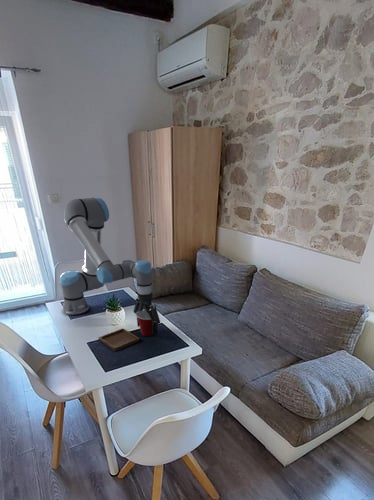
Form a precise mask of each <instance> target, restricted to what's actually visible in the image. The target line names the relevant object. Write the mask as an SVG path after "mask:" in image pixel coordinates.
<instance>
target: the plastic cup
mask: <svg viewBox="0 0 374 500" xmlns="http://www.w3.org/2000/svg"><path fill="white" fill-rule="evenodd" d="M135 316H136V319H137V318H138V322H139V330H140V333H141V335H142V336H143V337H150V336H153V331H152V324H153V322H152V320H151V318H150V316H149V314H148V313H147V311H146V310H144V309H143V310H142V311H138V312H137V313H135Z"/></svg>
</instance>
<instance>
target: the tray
mask: <svg viewBox="0 0 374 500" xmlns="http://www.w3.org/2000/svg"><path fill="white" fill-rule="evenodd" d="M98 341H99V342H101V343H102V344H104V345H105V346H107V347H109V349H111V350H112V351H113V352H116V351H120V350H121V349H124V348H126V347H129V346H131V345H134V344H136V343H139V342H140V337H138V336H137V335H135V334H133V333H132V332H130V331H129V330H126V329H125V328H120V329H117V330H114V331H112V332H109V333H107V334H104V335H101V336H98Z"/></svg>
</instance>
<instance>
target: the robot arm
mask: <svg viewBox="0 0 374 500" xmlns="http://www.w3.org/2000/svg"><path fill="white" fill-rule="evenodd" d="M63 210H64V211H63V220H64V223H65V226H66V227H67V229H68V230H69V231H70V232H72V233H74V235H75V237H76V238H77V240H78V241H79V242H80V244H81V246H82V248H83V249H84V265H83V266H82V268H81V271H79V270H68V271H65V272H63V273H62V274H61V275H60V276H59V282H60V284H59V285H60V287H61V291H62V296H63V304H62V305H63V306H62V311H63V313H64V314H65V315H68V316H79V315H80V316H81V315H84V314H86V313H87V312H89V311H90V306H89V304H88V302H87V300H86V298H85V295H84V293H86V292H89V291H90V292H91V291H93V290H98V289H101V288H103V287H105V285H107V284H111V283H114V282H117V281H122V280H125V279H129V278H133V279H135V280H136V291H137V298H135V304H134V308H133V313H134V314H136V313H137V312H138V311H142V310H146V311H147V313H148V314H149V316H150V318H151V320H152V322H153V324H152V331H153V333H152V336H155V335H158V330H159V324H161V319H160V317H159V313H158V310H157V305H156V304H155V303H154V304H153V303H152V301H153V299H154V295H153V276H152V275H153V273H152V271H153V270H152V264H151V262H150V261H149V260H147V259H146V260H145V259H139V260H137V261H134V260H131V259H124V260H122V261H121V262H120V263H116V264H114V263H113V262H112V261H111V259H110V257H109V256H108V254H107V253H106V251H105V250H104V249H103V247H102V246H101V245H102V244H101V243H102V230H103V229H104V228H105V222H108V221H109V220H110V211H109V207H108V205H107V203H106V201H105V200H104V199H102V197H89V198H88V197H86V198H74V199H71V200H69V201H68V202H67V203H66V205H65V206H64V209H63ZM136 323H137V324H136V326H137V328H140V326H139V322H138V318H137V317H136Z"/></svg>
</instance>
